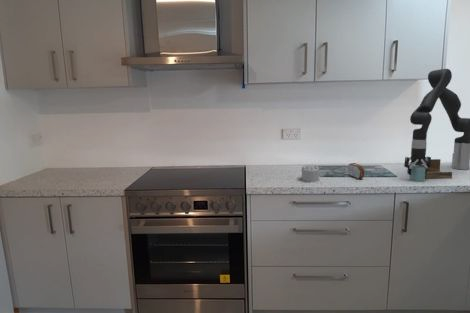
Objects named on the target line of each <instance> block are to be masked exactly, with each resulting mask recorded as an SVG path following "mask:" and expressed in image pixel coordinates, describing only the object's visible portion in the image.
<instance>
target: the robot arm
mask: <svg viewBox="0 0 470 313" xmlns="http://www.w3.org/2000/svg"><path fill="white" fill-rule="evenodd" d="M452 78H453V73H452V71H451V69H449V68H441V69H434V70H431V71H429V73H428V74H427V79H428V80H427V81H428V84H429V85H430V86H431V88H432V89H431V90H429V92H428V93H426V94H425V96H424V97H423V98H422V100H421V102H420V104H419V106H418V107H416V109H415V110H414V111H413V112H412V114H411V115H410V116H409V117H410V118H409V119H410V120H409V121H410V123H411V124H413V125H415V126H417V125H419V126H421V127H420V128H415V129H413V131H412V141H411V148H410V150H411V151H410V157H408V156H405V158H404V164H403V166H404V168H406V169H407V174H408V175H409V176H410V175H411V170H412V169H411V168H412V167H413V166H414V165H418V164H420V165H422V166H423V167H424V168H425V175H426V173H427V168H428V167H431V159H432V156H426V155H427V136H428V130H429V129H430V128H429V127H430V124H431V123H432V118H433V117H432V115H431V112H432V111H433V110H434V108H435V105H436V103H437V101H438V100H440V103H441V104H442V107H443V108H444V111H445V112H446V114H447V116H448V119H449V121H450V124H451V126H452V130H454V132H457V133H463V135H461V136H459V137H456V138H454V142H453V143H454V144H453V145H454V146H453V153H452V159H451V168H452V169H455V170H463V171H464V170H465V171H466V170H469V169H470V117H468V118H467V117H460V116H459V112H460V109H461V107H462V102H461V100H460V98H459V96H458V95H457V93H455V92H454V91H452V90H451V89H449V88H447V87H448V85H449V84H450V82H451V81H452ZM425 160H427V162H426V163H425V162H424V161H425Z"/></svg>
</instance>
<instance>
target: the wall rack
mask: <svg viewBox="0 0 470 313" xmlns="http://www.w3.org/2000/svg"><path fill="white" fill-rule="evenodd" d="M441 160H442V159H441V158H440V159H439V158H431V167H428V168H427V173H426V175H425V180H434V179H435V180H437V179H452V178H453V172H451V171H441V170H440V169H441ZM424 162H425V163H426V162H427V160H425V161H424ZM418 166H421V167H423V166H422V165H420V164H418Z"/></svg>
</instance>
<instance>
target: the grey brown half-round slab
mask: <svg viewBox="0 0 470 313" xmlns="http://www.w3.org/2000/svg"><path fill="white" fill-rule="evenodd" d="M348 174H349V175H350V176H351V177H352V178H355V179H357V180H361V179H364V178H365V169H364V167H363V166H362V165H361V164H358V163H357V162H356V163H355V162H352V163H349V164H348Z"/></svg>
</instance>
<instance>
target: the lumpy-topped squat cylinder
mask: <svg viewBox="0 0 470 313" xmlns="http://www.w3.org/2000/svg"><path fill="white" fill-rule="evenodd" d="M302 180H303V181H302ZM301 181H302V182H306V183H311V182H312V183H317V182H319V181H320V168H319V166H318V165H313V164H310V165H309V164H306V165H303V166H302V167H301Z"/></svg>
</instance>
